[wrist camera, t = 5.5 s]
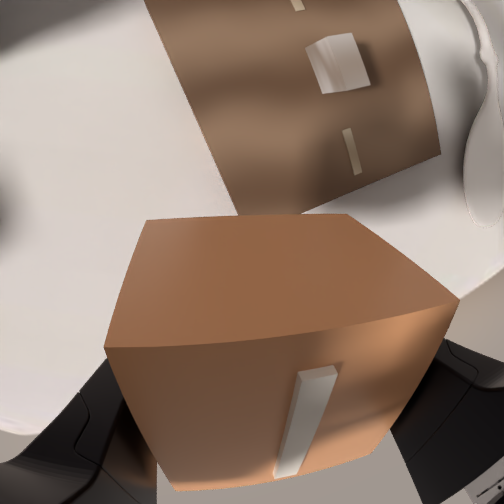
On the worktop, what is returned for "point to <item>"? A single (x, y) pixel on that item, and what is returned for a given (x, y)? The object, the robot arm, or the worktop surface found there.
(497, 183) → the spoon
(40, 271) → the worktop surface
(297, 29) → the base plate
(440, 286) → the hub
